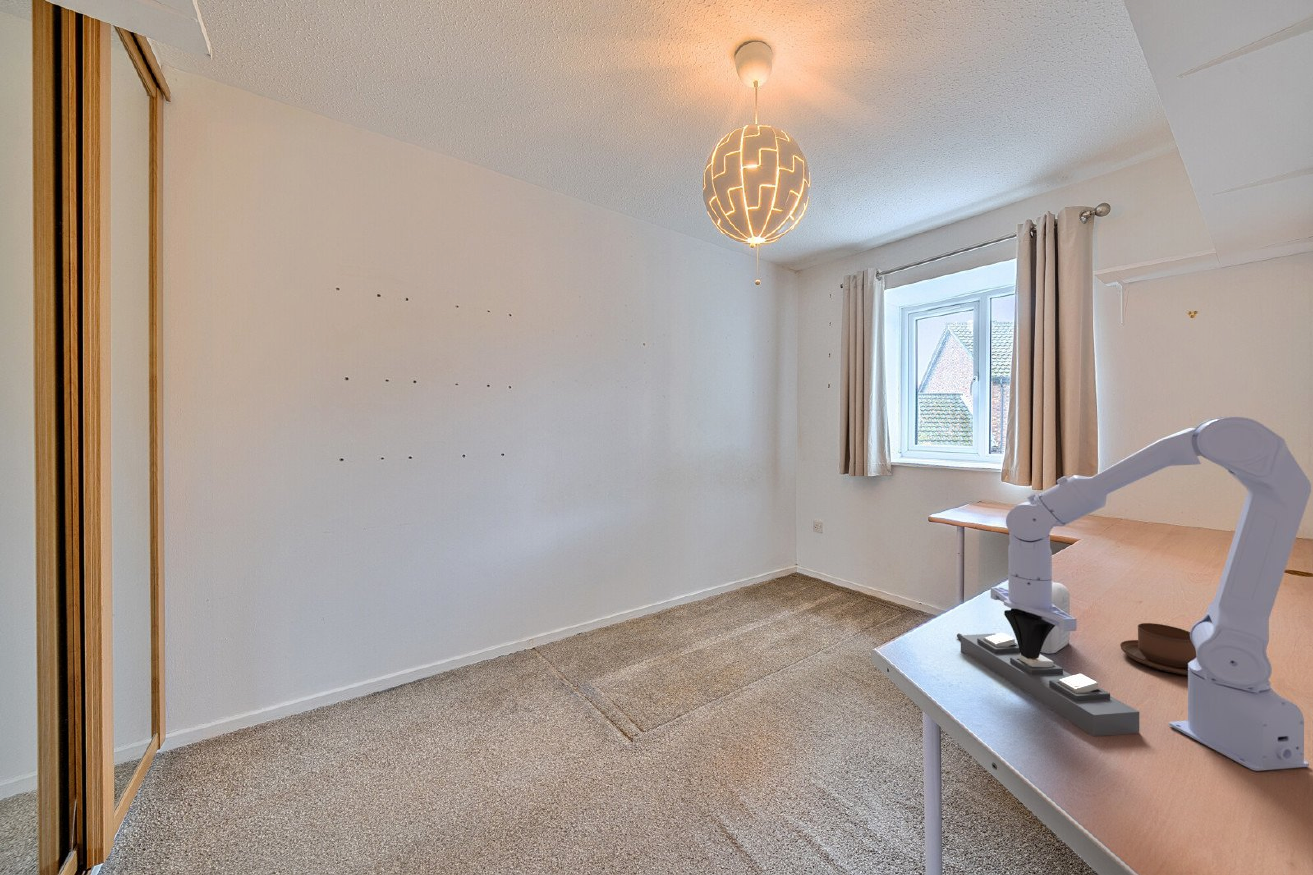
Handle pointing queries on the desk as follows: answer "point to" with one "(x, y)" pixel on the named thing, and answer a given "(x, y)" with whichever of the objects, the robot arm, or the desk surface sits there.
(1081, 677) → the rocker
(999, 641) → the rocker
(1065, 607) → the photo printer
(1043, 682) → the rocker switch panel
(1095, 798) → the desk surface
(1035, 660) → the middle rocker
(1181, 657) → the cup and saucer
